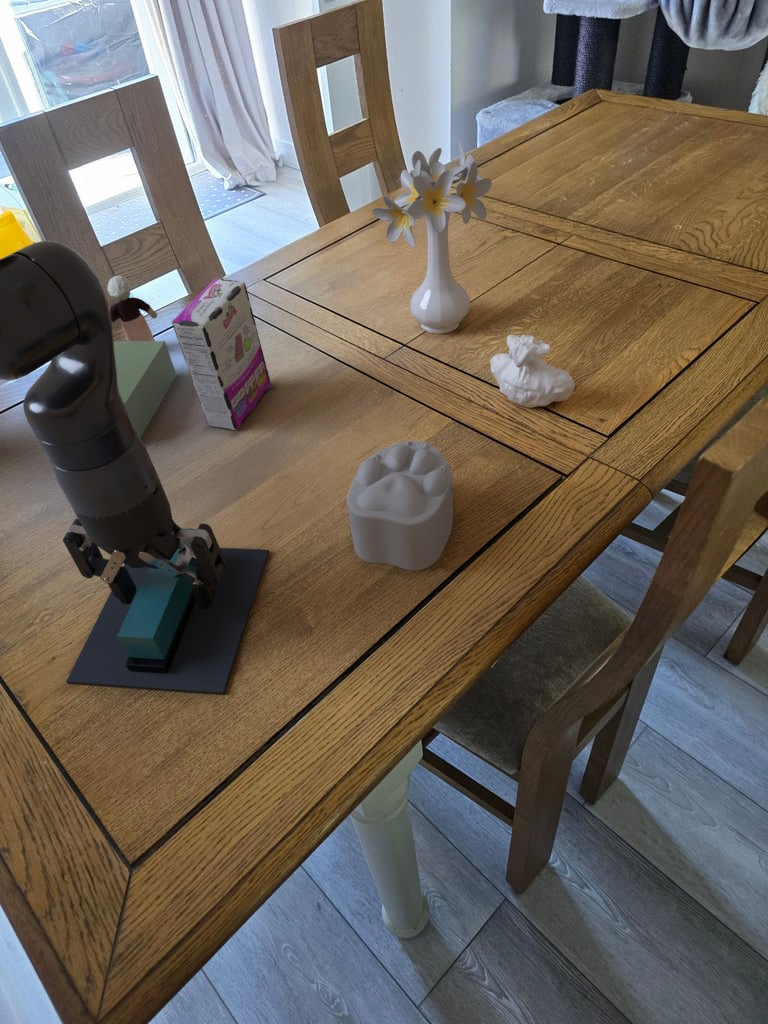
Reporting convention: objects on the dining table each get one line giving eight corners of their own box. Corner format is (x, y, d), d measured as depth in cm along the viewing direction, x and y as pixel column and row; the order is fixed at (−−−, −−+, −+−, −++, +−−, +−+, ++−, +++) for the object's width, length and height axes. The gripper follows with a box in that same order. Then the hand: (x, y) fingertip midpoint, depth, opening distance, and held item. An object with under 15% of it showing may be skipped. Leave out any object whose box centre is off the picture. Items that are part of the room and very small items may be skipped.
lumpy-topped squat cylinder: (344, 557, 76) (333, 500, 70) (381, 479, 85) (375, 423, 79) (435, 575, 74) (432, 518, 67) (464, 493, 82) (464, 435, 76)
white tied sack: (487, 400, 98) (462, 371, 88) (509, 351, 98) (486, 316, 88) (566, 426, 93) (548, 398, 83) (589, 374, 93) (574, 340, 83)
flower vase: (374, 347, 106) (356, 176, 89) (431, 292, 117) (426, 130, 99) (450, 366, 101) (447, 189, 83) (503, 307, 112) (510, 139, 94)
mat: (67, 683, 68) (65, 681, 67) (135, 546, 80) (134, 544, 80) (224, 694, 65) (222, 692, 65) (269, 551, 78) (268, 549, 78)
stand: (66, 446, 95) (48, 411, 91) (115, 375, 107) (101, 341, 102) (135, 447, 93) (119, 412, 89) (177, 375, 105) (165, 340, 101)
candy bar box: (242, 381, 103) (213, 277, 91) (272, 385, 101) (247, 280, 90) (204, 427, 95) (169, 320, 84) (237, 432, 94) (204, 324, 82)
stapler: (167, 673, 67) (152, 645, 64) (129, 671, 68) (111, 643, 64) (213, 557, 78) (201, 527, 74) (179, 555, 78) (166, 526, 75)
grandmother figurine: (159, 338, 114) (133, 264, 105) (170, 347, 111) (144, 272, 102) (115, 357, 110) (85, 282, 101) (126, 366, 108) (95, 291, 99)
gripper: (15, 512, 58) (89, 626, 70) (176, 517, 56) (224, 634, 68) (55, 453, 63) (118, 568, 75) (204, 456, 61) (245, 574, 73)
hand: (168, 599), depth 71 cm, fingers open, 8 cm apart
